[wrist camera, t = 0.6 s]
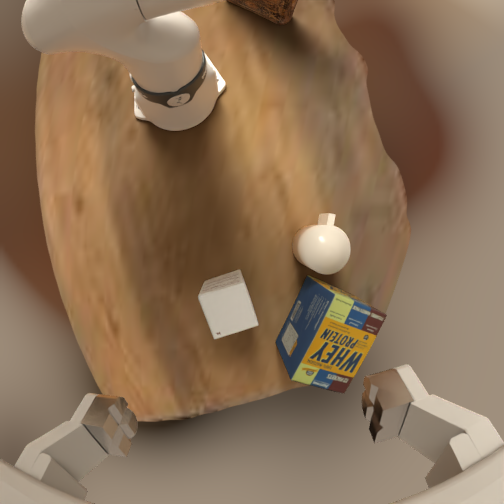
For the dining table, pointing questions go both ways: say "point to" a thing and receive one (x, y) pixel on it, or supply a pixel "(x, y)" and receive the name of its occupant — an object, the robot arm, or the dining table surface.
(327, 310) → the protein box
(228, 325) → the supplement box
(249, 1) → the book
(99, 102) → the dining table surface
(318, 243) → the off-white mug
